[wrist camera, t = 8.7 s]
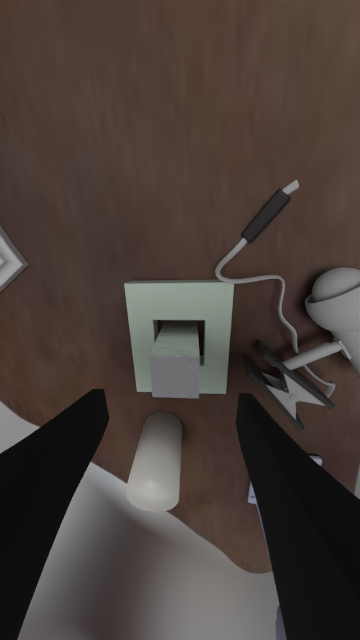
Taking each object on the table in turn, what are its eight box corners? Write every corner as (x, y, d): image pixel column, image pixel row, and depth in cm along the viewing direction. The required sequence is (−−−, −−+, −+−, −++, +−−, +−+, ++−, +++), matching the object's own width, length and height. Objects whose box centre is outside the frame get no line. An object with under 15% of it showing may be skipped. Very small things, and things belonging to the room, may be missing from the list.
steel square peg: (196, 349, 19) (198, 398, 12) (166, 348, 19) (152, 397, 13) (197, 320, 18) (199, 357, 11) (164, 320, 18) (149, 356, 12)
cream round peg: (182, 441, 24) (178, 513, 17) (145, 439, 24) (127, 510, 17) (182, 412, 22) (178, 480, 15) (143, 411, 22) (122, 476, 16)
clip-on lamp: (189, 267, 19) (278, 409, 20) (170, 261, 13) (298, 464, 14) (302, 185, 16) (410, 363, 16) (346, 124, 10) (518, 412, 10)
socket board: (222, 381, 20) (225, 393, 18) (142, 379, 21) (137, 391, 19) (229, 279, 16) (234, 282, 15) (131, 280, 17) (124, 283, 15)
